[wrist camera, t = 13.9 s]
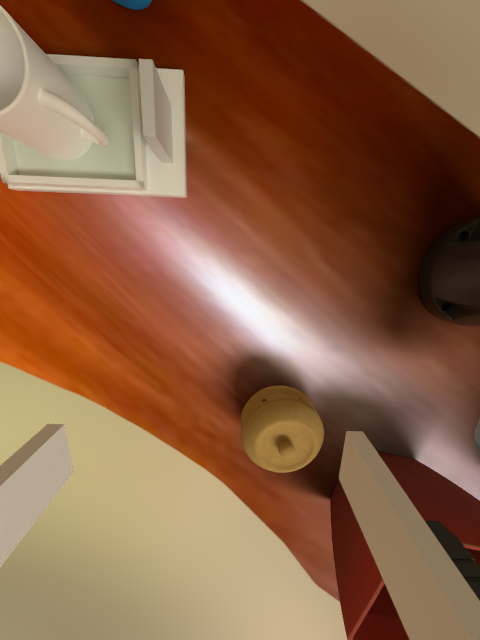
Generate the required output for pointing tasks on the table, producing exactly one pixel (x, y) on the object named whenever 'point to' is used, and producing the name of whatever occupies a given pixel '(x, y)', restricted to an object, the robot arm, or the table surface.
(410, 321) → the table surface
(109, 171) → the dock
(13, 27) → the cup
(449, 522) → the plant pot
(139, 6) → the alarm clock
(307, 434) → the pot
